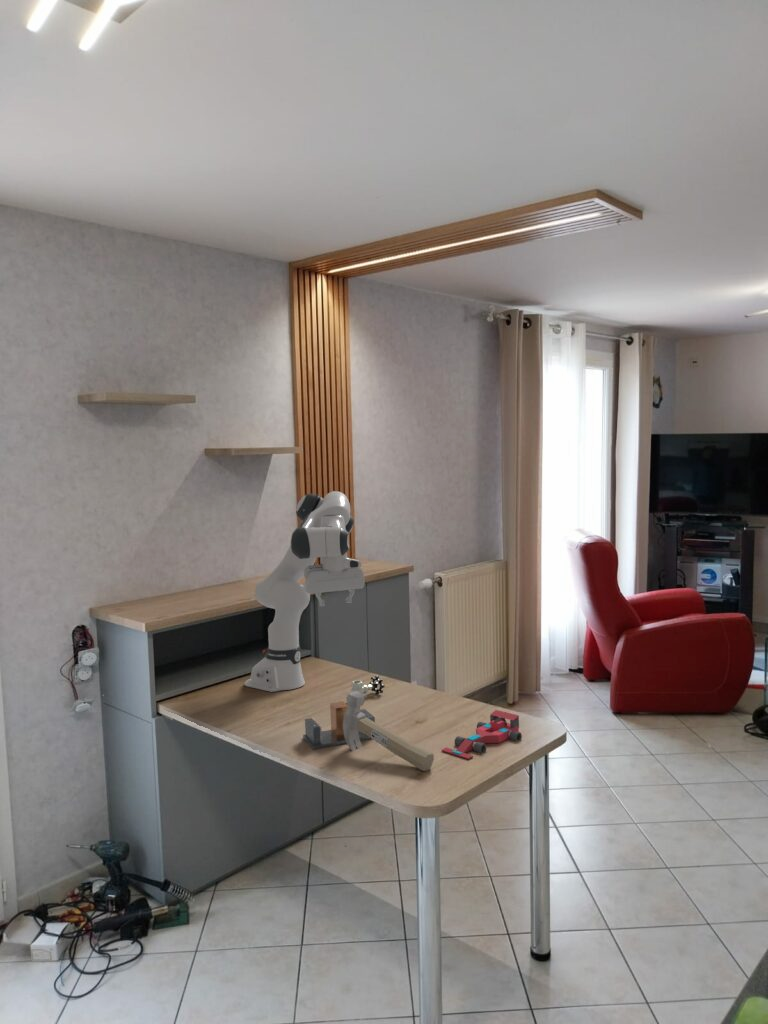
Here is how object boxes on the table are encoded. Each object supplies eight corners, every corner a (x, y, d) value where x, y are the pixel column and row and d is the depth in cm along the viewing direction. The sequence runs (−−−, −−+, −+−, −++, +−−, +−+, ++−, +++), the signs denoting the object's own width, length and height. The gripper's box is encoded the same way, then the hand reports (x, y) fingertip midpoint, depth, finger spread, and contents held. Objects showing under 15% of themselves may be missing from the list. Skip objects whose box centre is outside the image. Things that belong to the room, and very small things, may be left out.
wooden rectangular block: (331, 732, 228) (330, 703, 228) (343, 730, 230) (342, 701, 229) (336, 738, 224) (335, 708, 223) (349, 736, 225) (348, 706, 225)
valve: (360, 704, 258) (385, 695, 266) (359, 685, 257) (384, 676, 266) (346, 700, 262) (371, 692, 271) (346, 681, 262) (371, 673, 270)
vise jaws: (303, 738, 228) (302, 718, 227) (365, 726, 235) (365, 707, 235) (313, 749, 219) (312, 729, 218) (378, 737, 226) (377, 717, 226)
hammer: (438, 734, 201) (356, 689, 220) (427, 739, 198) (345, 693, 216) (429, 787, 204) (349, 738, 223) (418, 793, 201) (338, 743, 220)
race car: (434, 730, 215) (487, 707, 233) (434, 751, 216) (488, 726, 234) (474, 742, 205) (527, 717, 223) (475, 764, 206) (527, 737, 224)
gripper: (306, 566, 247) (308, 609, 248) (365, 561, 255) (367, 602, 256) (301, 564, 253) (302, 606, 254) (358, 559, 261) (360, 599, 262)
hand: (335, 604), depth 255 cm, fingers open, 8 cm apart
